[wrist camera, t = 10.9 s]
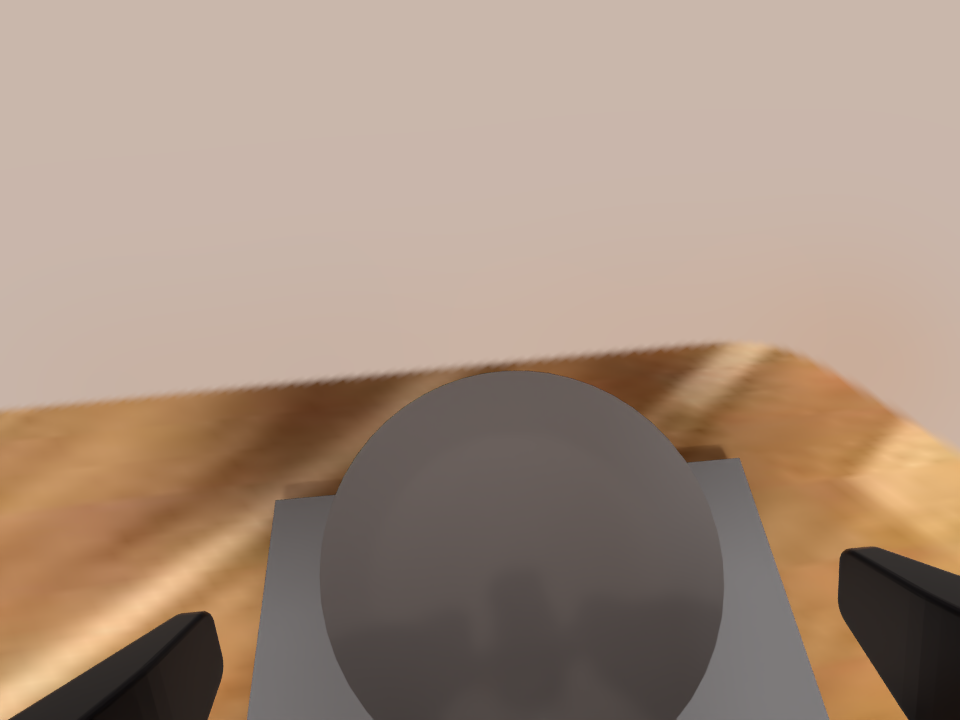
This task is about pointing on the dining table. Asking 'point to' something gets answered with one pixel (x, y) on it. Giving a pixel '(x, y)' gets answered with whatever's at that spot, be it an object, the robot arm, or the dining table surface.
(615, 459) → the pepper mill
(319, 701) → the slate board
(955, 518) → the dining table surface
